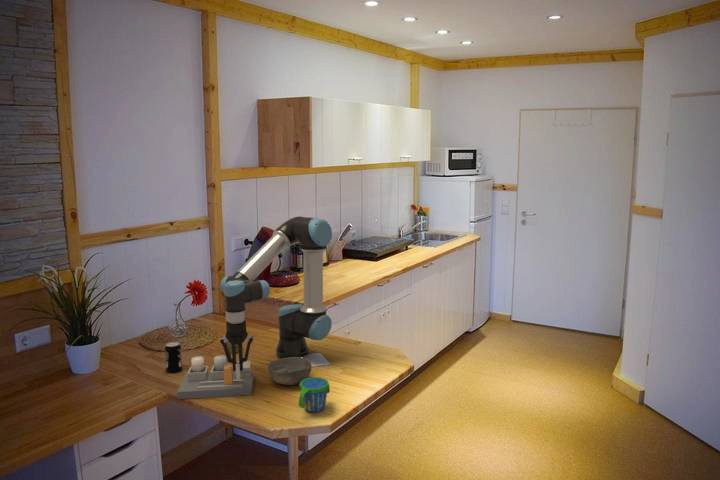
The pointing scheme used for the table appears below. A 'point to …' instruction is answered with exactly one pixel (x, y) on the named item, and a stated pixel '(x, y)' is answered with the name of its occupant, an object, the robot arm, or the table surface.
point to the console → (214, 384)
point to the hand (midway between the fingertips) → (238, 378)
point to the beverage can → (173, 357)
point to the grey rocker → (246, 366)
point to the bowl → (290, 370)
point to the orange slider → (228, 375)
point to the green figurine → (231, 347)
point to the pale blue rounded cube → (220, 362)
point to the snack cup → (313, 393)
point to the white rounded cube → (197, 364)
